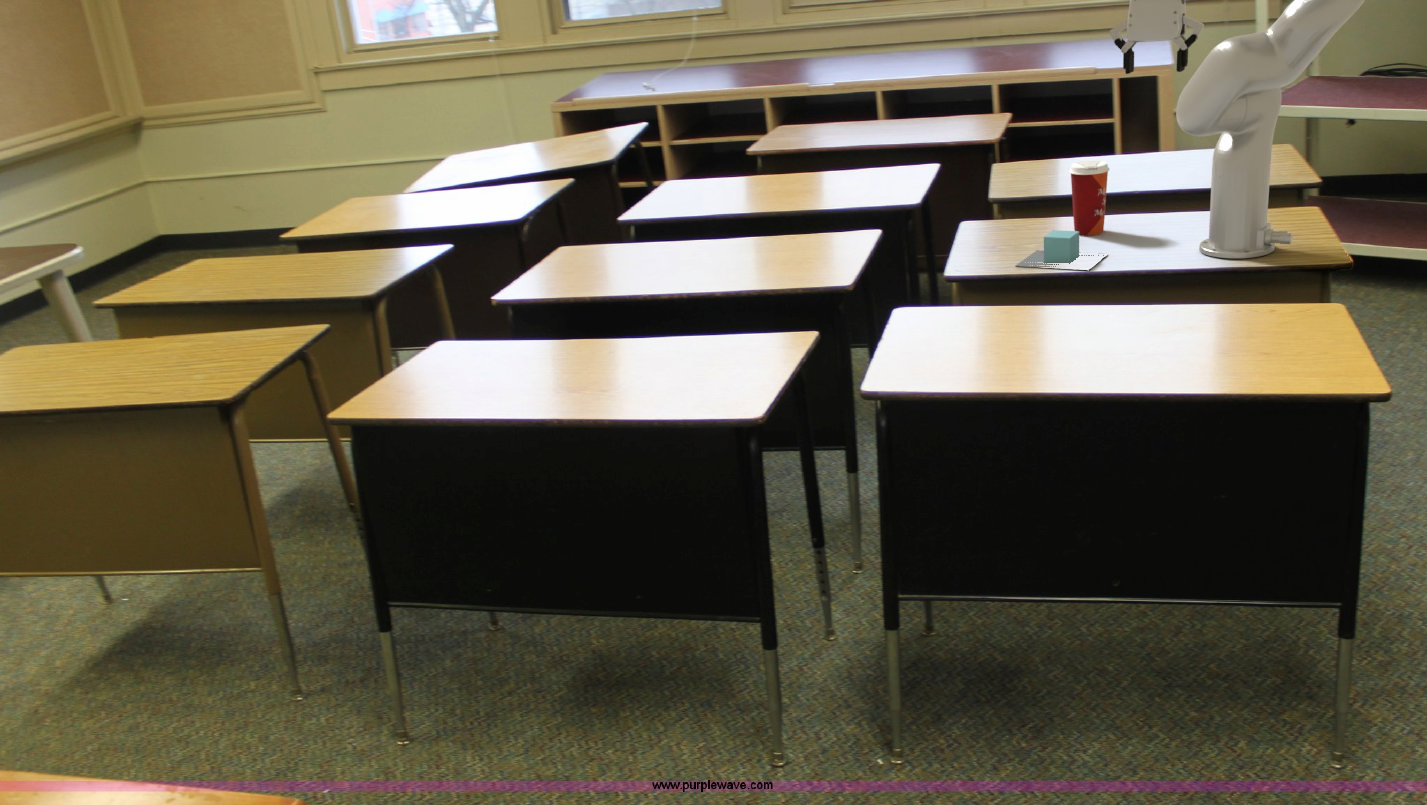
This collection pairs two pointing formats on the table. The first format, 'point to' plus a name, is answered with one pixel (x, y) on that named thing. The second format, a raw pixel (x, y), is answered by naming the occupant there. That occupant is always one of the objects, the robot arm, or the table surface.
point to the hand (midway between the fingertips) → (1154, 71)
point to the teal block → (1061, 246)
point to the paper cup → (1089, 196)
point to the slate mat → (1036, 260)
